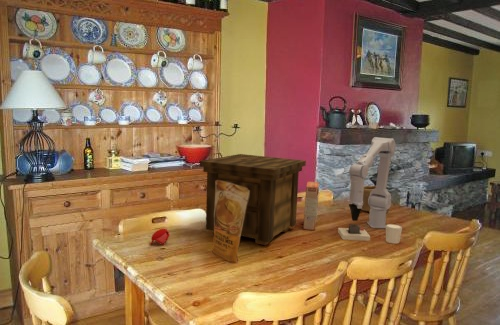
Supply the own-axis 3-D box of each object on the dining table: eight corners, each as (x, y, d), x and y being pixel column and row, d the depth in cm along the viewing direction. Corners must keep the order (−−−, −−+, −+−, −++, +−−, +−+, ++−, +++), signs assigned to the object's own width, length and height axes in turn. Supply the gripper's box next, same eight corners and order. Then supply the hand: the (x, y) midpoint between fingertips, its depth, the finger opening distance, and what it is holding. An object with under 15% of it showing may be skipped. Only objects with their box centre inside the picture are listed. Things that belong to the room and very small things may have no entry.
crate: (301, 228, 190) (305, 160, 186) (270, 250, 159) (274, 169, 155) (237, 217, 206) (239, 154, 202) (198, 234, 176) (199, 161, 171)
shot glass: (390, 244, 172) (391, 228, 171) (381, 239, 179) (382, 224, 178) (404, 243, 174) (405, 228, 173) (394, 238, 181) (395, 223, 180)
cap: (170, 232, 167) (157, 225, 166) (172, 231, 162) (159, 224, 161) (160, 249, 165) (147, 242, 163) (162, 249, 159) (149, 242, 158)
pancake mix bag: (220, 246, 162) (222, 178, 158) (249, 262, 147) (251, 187, 143) (205, 249, 158) (207, 179, 154) (234, 265, 143) (236, 188, 139)
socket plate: (337, 231, 187) (338, 226, 187) (363, 233, 187) (364, 227, 187) (342, 239, 177) (343, 233, 176) (370, 240, 176) (370, 235, 176)
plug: (348, 234, 184) (349, 224, 183) (356, 235, 184) (357, 224, 183) (350, 237, 180) (351, 226, 179) (359, 238, 180) (359, 227, 179)
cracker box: (315, 230, 188) (318, 187, 185) (302, 229, 189) (305, 186, 186) (317, 222, 201) (319, 181, 198) (304, 221, 203) (307, 180, 200)
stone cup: (354, 211, 227) (356, 185, 225) (364, 207, 236) (366, 182, 234) (380, 216, 218) (382, 189, 216) (389, 213, 226) (391, 186, 224)
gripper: (344, 187, 186) (342, 215, 188) (351, 193, 172) (349, 224, 174) (359, 187, 186) (357, 216, 188) (368, 194, 172) (365, 225, 174)
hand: (354, 220), depth 181 cm, fingers closed
